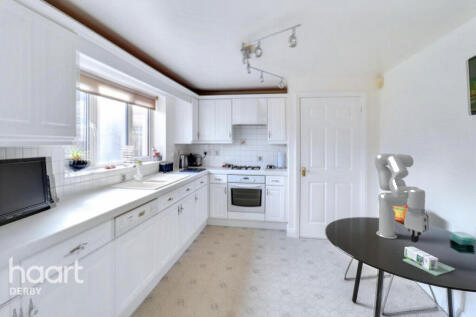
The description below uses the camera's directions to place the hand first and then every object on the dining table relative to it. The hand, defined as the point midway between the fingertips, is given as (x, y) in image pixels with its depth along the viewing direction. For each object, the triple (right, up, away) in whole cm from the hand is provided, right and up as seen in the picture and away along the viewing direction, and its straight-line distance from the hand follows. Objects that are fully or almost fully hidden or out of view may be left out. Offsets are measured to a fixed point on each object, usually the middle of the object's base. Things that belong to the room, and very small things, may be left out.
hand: (414, 241), depth 125 cm
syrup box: (-2, -7, +3) cm, 7 cm away
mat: (+2, -10, -6) cm, 12 cm away
